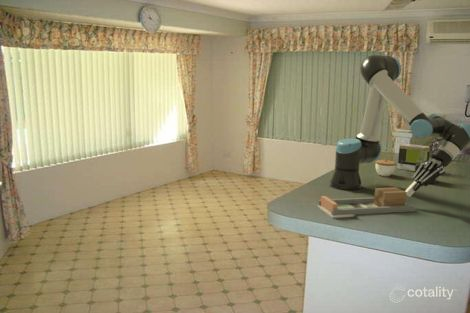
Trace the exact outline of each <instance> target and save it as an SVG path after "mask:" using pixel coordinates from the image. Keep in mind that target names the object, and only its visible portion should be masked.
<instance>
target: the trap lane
mask: <svg viewBox="0 0 470 313" xmlns="http://www.w3.org/2000/svg"><path fill="white" fill-rule="evenodd" d="M374 197H375V196H373V197H370V196H369V197H354V198H353V197H349V198H348V197H347V198H333V199H331V198H329V197H328V196H326V195H321V196H320V199H318V200H317V208H319V209H320V210H321V211H322V212H324V213H326V214H327V215H328V216H329V217H330V218H333V219H335V218H338V219H339V218H352V217H354V218H356V217H357V215H366V214H368V215H369V214H382V213H383V214H384V213H386V214H387V213H401V212H402V213H403V212H415V211H416V210H415V209H416V206H415V204H414V205H413V204H410V205H409V204H408V205H406V204H405V205H404V206H385V207H378V206H376V205H374Z"/></svg>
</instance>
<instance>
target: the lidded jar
mask: <svg viewBox="0 0 470 313" xmlns="http://www.w3.org/2000/svg"><path fill="white" fill-rule="evenodd" d="M396 164H397V163H396V161H392V160H388V159H387V158H384V159H376V160H375V166H374V168H375V171H376V173H377V175H378V176H380V175H381V177H390V176H392V175H393V173H394V172H395V170H396Z"/></svg>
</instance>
